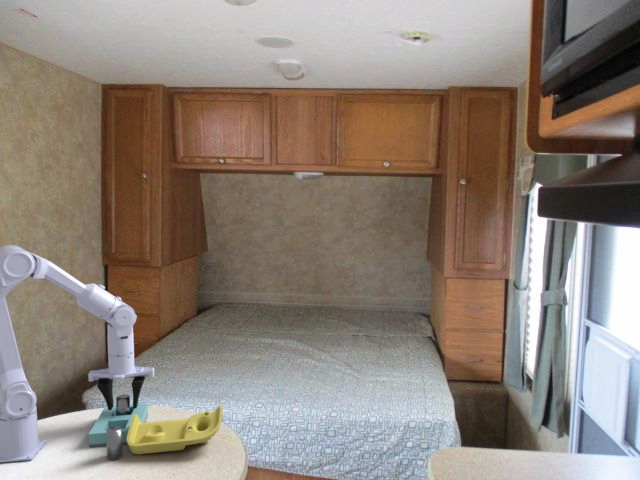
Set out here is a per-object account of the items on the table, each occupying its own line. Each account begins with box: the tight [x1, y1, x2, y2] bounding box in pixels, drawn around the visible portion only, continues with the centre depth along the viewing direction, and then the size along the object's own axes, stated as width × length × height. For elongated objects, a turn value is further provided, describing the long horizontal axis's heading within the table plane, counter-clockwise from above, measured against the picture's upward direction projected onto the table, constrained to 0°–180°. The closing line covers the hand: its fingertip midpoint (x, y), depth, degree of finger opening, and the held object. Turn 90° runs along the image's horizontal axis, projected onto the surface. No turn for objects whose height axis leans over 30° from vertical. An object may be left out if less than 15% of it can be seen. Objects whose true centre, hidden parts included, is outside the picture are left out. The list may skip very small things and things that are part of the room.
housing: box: [88, 403, 149, 448], centre depth 116 cm, size 10×14×3 cm
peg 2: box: [115, 393, 131, 416], centre depth 119 cm, size 3×3×6 cm
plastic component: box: [127, 405, 224, 455], centre depth 110 cm, size 20×7×10 cm
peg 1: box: [106, 426, 124, 462], centre depth 105 cm, size 3×3×6 cm
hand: (123, 407), depth 119 cm, fingers open, 5 cm apart
